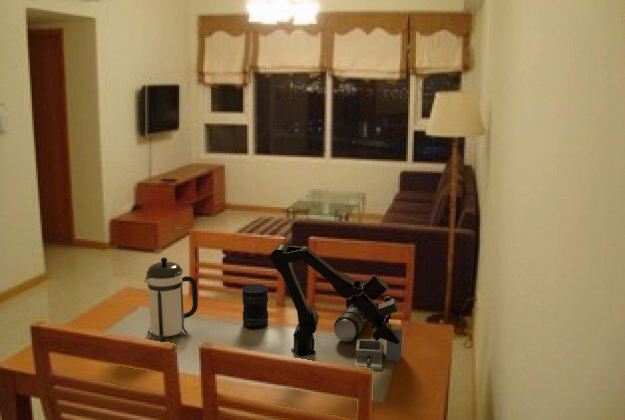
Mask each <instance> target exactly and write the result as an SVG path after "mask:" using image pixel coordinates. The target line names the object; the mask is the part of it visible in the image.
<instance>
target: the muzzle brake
mask: <svg viewBox="0 0 625 420" xmlns="http://www.w3.org/2000/svg"><path fill="white" fill-rule="evenodd" d="M366 296H367V295H366ZM367 297H368V296H367ZM368 298H369V297H368ZM369 299H370V298H369ZM370 300H371V301H372V302H373V303H374V302H375V301H374V300H372V299H370ZM362 317H363V315H362V314H361V313H360V312H359V311H358V310H357V309H356V308H355V307H354V306H353V305H351V306H349V307H348V308H346V307H345V309H344V311H343V312H342V313H341V314H340V315H339V316H338V318H337V319H336V320H335V322H334V323H333V325H334V326H333V330H334V332H333V333H334V334H335V336H336V338H337V339H338V340H340V341H341V342H344V343H349V342H353V341H354V340H357V339H358V336H360V334H361V331H362V329H363V327H364V325H365V324H366V322H367V321H368V320H367V319H365V320H364V319H363V318H362Z"/></svg>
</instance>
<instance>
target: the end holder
mask: <svg viewBox="0 0 625 420" xmlns="http://www.w3.org/2000/svg"><path fill="white" fill-rule="evenodd" d="M383 343H384V339H379V340H378V341H376V340H375V339H369V338H368V339H366V338H356V345H355V347H356V348H355V359H354V367H355V366H359V367H367V368H372V369H373V370H374V371H382V370H383V348H384V347H383Z"/></svg>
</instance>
